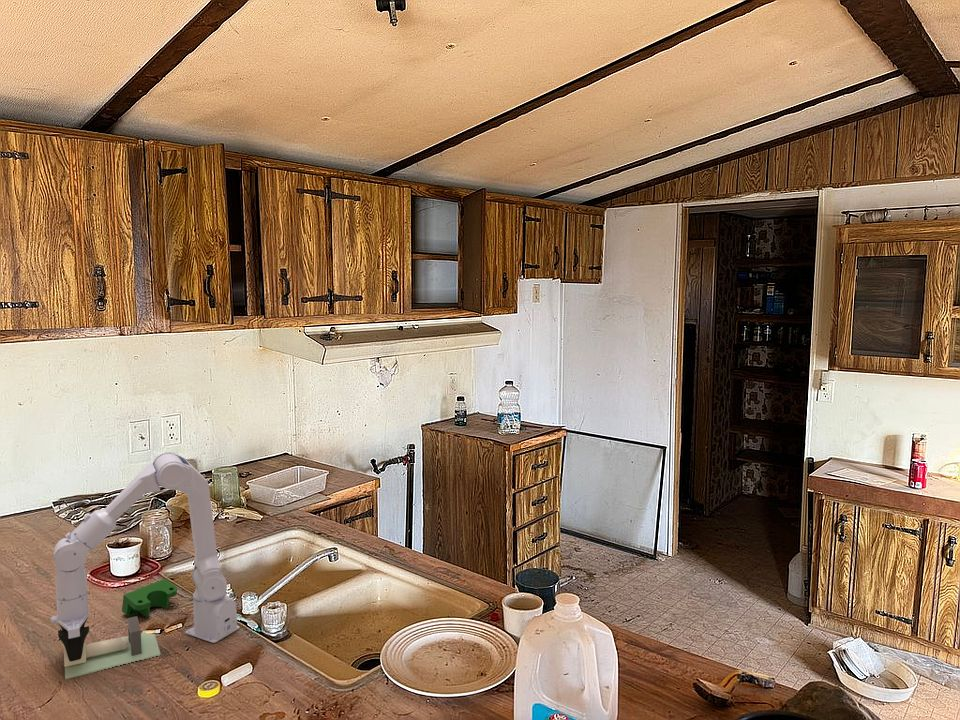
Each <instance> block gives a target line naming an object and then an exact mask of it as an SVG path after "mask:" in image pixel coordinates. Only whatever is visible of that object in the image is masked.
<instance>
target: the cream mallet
mask: <svg viewBox="0 0 960 720" xmlns="http://www.w3.org/2000/svg"><path fill="white" fill-rule="evenodd" d="M128 645H129V640H128V638H127V637H125V636H119V637H114V638H111V639H110V638H109V639H105V640H100V641H96V642H92V643H91V642H90V643H88V644H87V643H86V638H85V641H84V645H83V652H82V657H81V659H79V660H75V661H71V662H70V661H69V659H68V656H67V652H66V649H65V646H64V645H63V666H64V668H65V667H67V666H71V665H75V664H80V663H84V662H86V658H90V657H94V656H98V655H103V654H107V653H112V652H116V651H120V650H124V649H126V648H127V647H128Z"/></svg>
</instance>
